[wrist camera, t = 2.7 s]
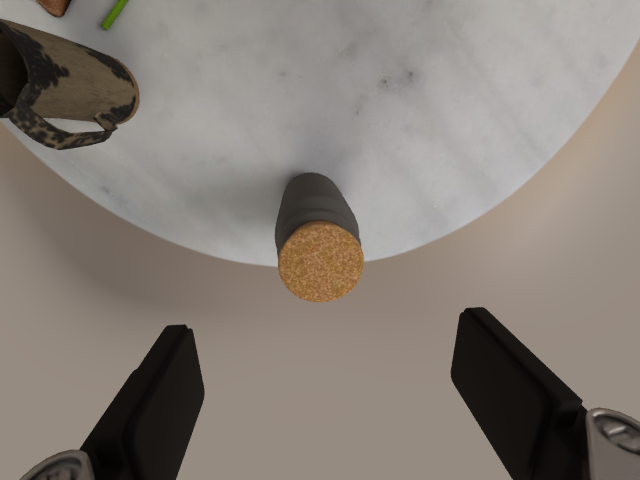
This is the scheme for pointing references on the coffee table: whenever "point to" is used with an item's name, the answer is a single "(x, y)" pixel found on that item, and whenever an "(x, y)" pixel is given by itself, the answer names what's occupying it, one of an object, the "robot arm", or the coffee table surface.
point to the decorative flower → (113, 14)
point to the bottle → (317, 240)
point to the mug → (61, 86)
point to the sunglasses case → (55, 6)
